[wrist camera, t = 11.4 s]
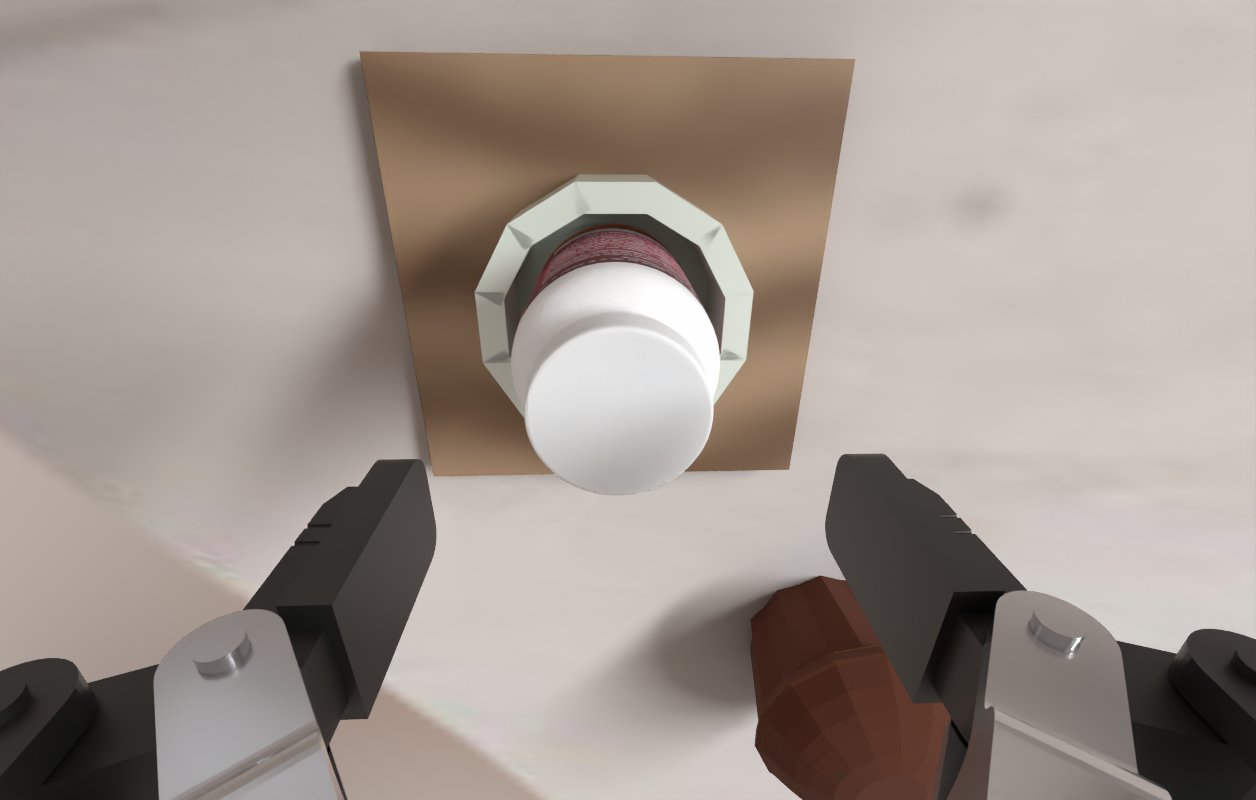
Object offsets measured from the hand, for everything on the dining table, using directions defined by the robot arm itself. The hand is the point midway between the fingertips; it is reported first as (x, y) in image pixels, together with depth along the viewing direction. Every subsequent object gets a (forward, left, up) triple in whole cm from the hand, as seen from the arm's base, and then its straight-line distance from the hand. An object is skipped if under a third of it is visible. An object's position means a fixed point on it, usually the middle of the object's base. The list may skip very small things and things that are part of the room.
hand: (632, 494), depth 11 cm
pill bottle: (0, 0, -14) cm, 14 cm away
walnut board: (0, 0, -16) cm, 16 cm away
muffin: (+22, +13, -16) cm, 30 cm away
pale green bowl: (0, 0, -14) cm, 14 cm away
